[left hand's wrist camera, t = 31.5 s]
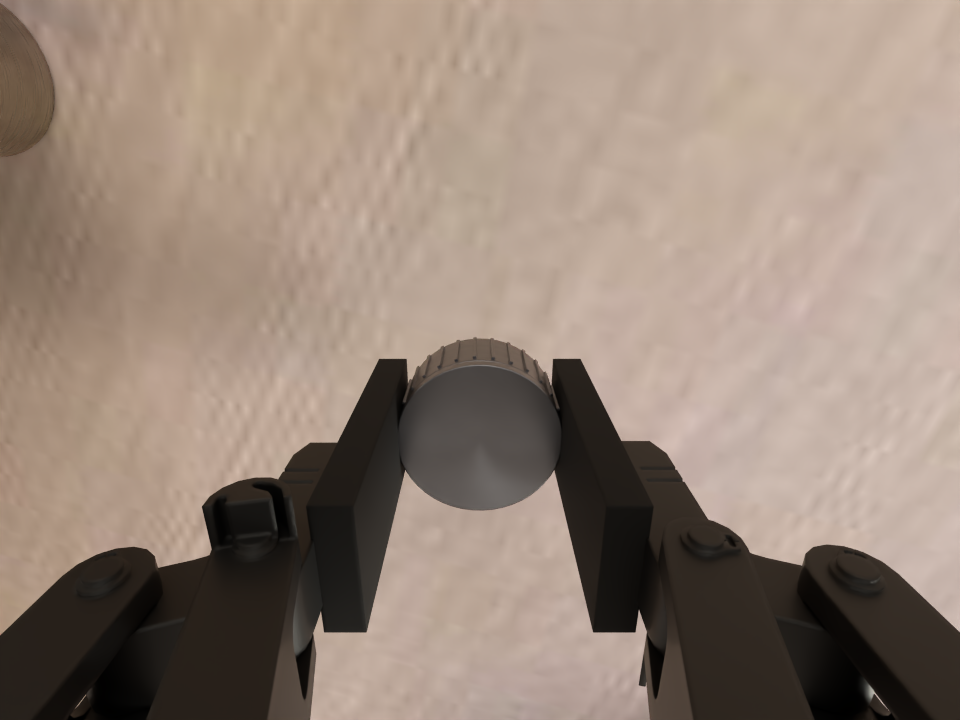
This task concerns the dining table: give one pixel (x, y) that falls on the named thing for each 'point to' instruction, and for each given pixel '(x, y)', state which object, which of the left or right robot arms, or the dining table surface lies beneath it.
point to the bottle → (22, 87)
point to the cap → (479, 425)
